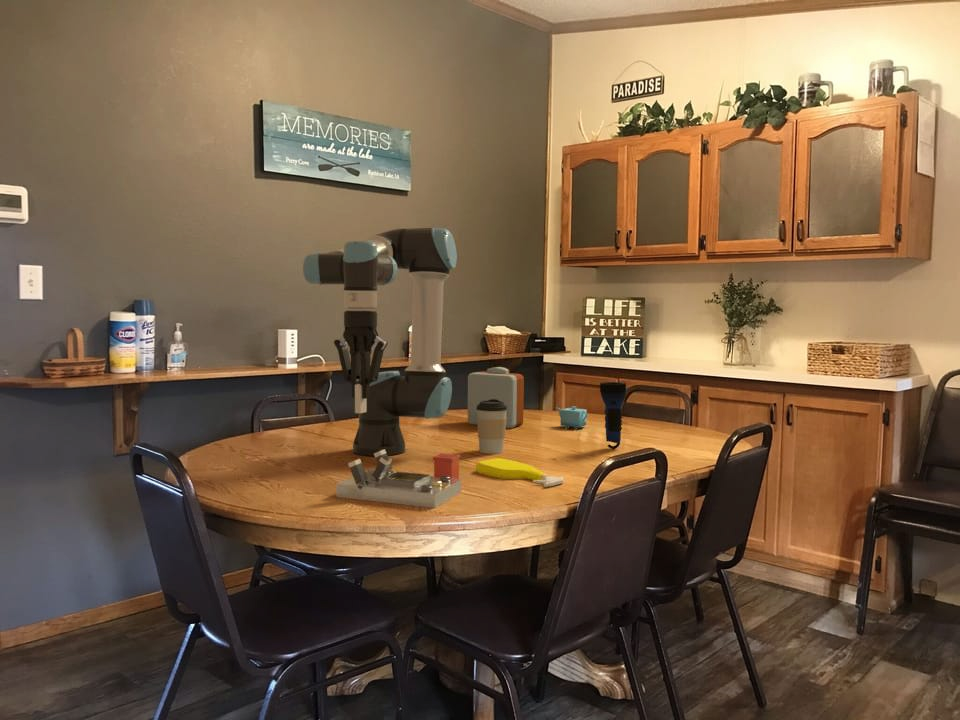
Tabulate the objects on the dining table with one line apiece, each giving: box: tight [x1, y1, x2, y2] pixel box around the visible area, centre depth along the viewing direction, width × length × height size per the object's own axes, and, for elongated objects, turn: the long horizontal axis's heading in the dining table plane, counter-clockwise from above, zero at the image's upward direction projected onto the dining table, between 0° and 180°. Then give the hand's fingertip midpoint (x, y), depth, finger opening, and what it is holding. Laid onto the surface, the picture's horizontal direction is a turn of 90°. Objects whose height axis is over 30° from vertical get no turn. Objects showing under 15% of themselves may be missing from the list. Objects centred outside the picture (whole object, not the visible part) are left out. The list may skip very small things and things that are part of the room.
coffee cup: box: [477, 399, 507, 455], centre depth 228 cm, size 9×9×15 cm
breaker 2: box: [373, 449, 393, 472], centre depth 185 cm, size 2×2×5 cm
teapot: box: [556, 406, 588, 430], centre depth 273 cm, size 12×6×8 cm, turn 60°
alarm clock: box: [467, 366, 525, 429], centre depth 276 cm, size 18×9×21 cm, turn 58°
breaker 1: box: [347, 458, 368, 484], centre depth 174 cm, size 2×2×5 cm
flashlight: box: [599, 381, 627, 450], centre depth 234 cm, size 8×8×20 cm
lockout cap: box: [432, 452, 461, 479], centre depth 187 cm, size 5×5×7 cm
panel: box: [335, 469, 462, 509], centre depth 177 cm, size 24×15×4 cm, turn 69°
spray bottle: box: [475, 457, 564, 488], centre depth 196 cm, size 3×11×24 cm
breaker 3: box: [372, 455, 393, 480], centre depth 178 cm, size 2×2×5 cm
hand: (360, 412), depth 180 cm, fingers closed
